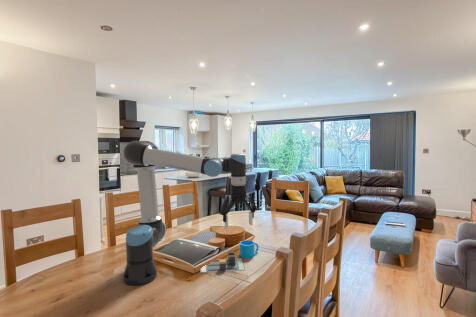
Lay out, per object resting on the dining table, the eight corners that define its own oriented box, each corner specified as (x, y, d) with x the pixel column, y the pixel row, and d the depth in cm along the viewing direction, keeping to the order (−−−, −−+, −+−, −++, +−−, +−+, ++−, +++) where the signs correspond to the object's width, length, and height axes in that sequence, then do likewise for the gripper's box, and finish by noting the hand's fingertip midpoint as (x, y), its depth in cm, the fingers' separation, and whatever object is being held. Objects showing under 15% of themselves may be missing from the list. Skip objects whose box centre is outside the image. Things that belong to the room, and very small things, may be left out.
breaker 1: (228, 260, 138) (228, 253, 138) (228, 258, 141) (228, 251, 140) (234, 260, 139) (234, 252, 138) (233, 258, 141) (233, 250, 141)
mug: (245, 261, 141) (245, 246, 141) (236, 256, 148) (236, 242, 147) (262, 256, 148) (262, 242, 147) (253, 251, 155) (253, 237, 154)
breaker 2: (229, 265, 133) (229, 257, 133) (228, 262, 136) (228, 255, 135) (235, 264, 134) (235, 256, 133) (234, 262, 136) (234, 254, 136)
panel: (199, 275, 126) (199, 272, 126) (200, 262, 140) (200, 259, 140) (245, 273, 128) (245, 270, 128) (242, 260, 142) (242, 257, 142)
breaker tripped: (219, 270, 128) (219, 261, 128) (219, 267, 130) (219, 259, 130) (225, 269, 128) (225, 261, 128) (225, 267, 130) (225, 259, 130)
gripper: (217, 187, 124) (218, 232, 125) (263, 183, 134) (263, 224, 136) (212, 185, 131) (213, 227, 132) (256, 182, 141) (256, 221, 142)
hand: (238, 226), depth 134 cm, fingers open, 13 cm apart
